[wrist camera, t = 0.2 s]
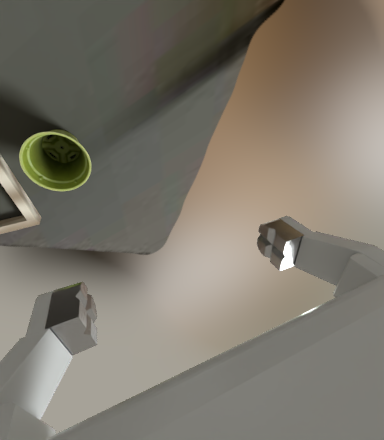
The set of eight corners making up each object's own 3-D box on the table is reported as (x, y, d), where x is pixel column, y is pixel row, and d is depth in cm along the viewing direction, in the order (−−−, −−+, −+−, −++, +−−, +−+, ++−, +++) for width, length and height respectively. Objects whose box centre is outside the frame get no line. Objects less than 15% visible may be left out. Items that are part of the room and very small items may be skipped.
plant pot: (16, 144, 36) (2, 163, 30) (54, 106, 35) (48, 117, 29) (67, 179, 42) (64, 201, 36) (100, 147, 41) (104, 164, 35)
